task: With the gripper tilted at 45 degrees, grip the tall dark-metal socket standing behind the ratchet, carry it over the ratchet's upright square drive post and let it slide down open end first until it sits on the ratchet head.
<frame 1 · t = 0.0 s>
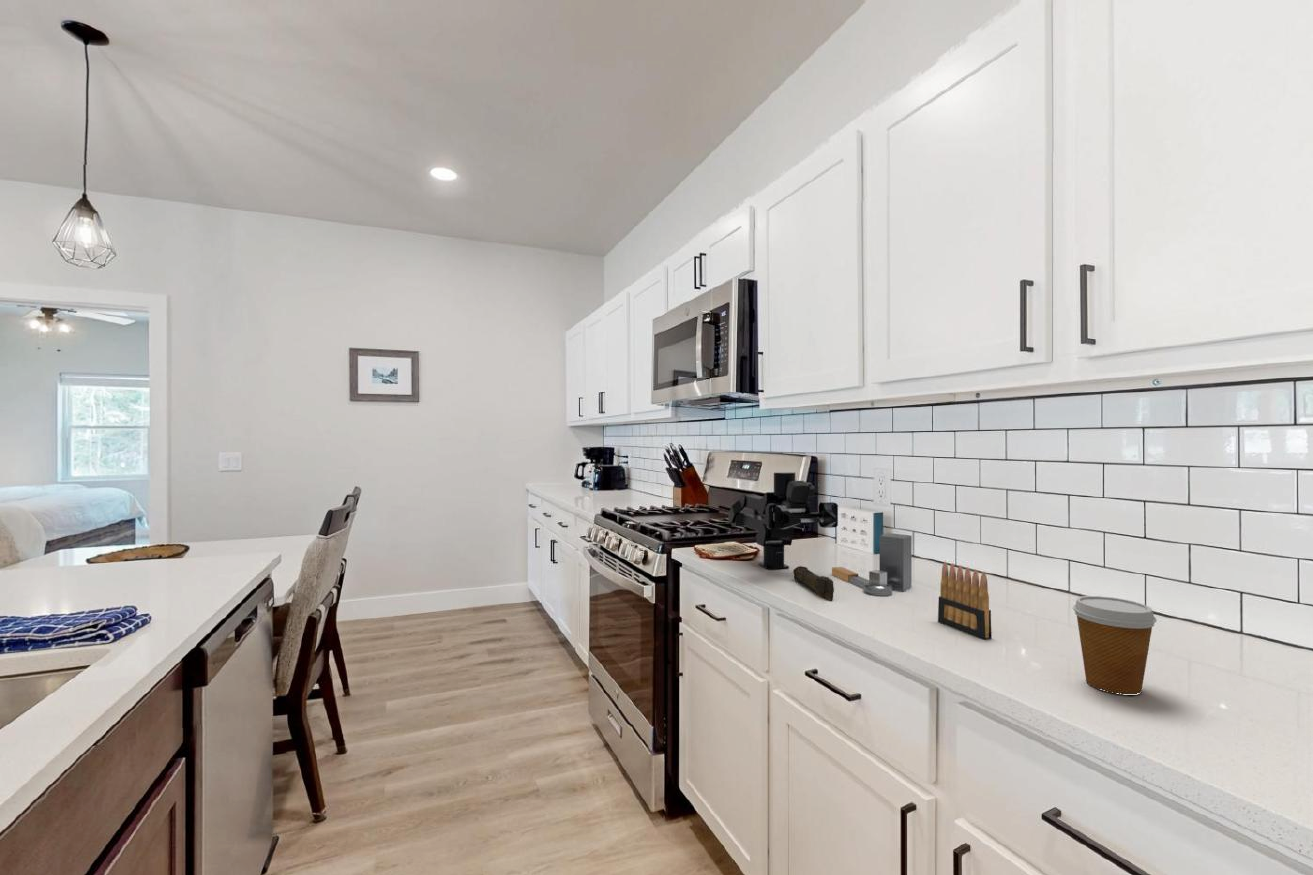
hand: (818, 520, 137), 17 cm above the worktop, tool horizontal, fingers open, 9 cm apart
hand tool: (817, 591, 137), on the worktop
ratchet: (857, 584, 142), on the worktop
disposable coffee cup: (1113, 688, 84), on the worktop
socket: (895, 587, 139), on the worktop
ammunition clip: (963, 631, 108), on the worktop
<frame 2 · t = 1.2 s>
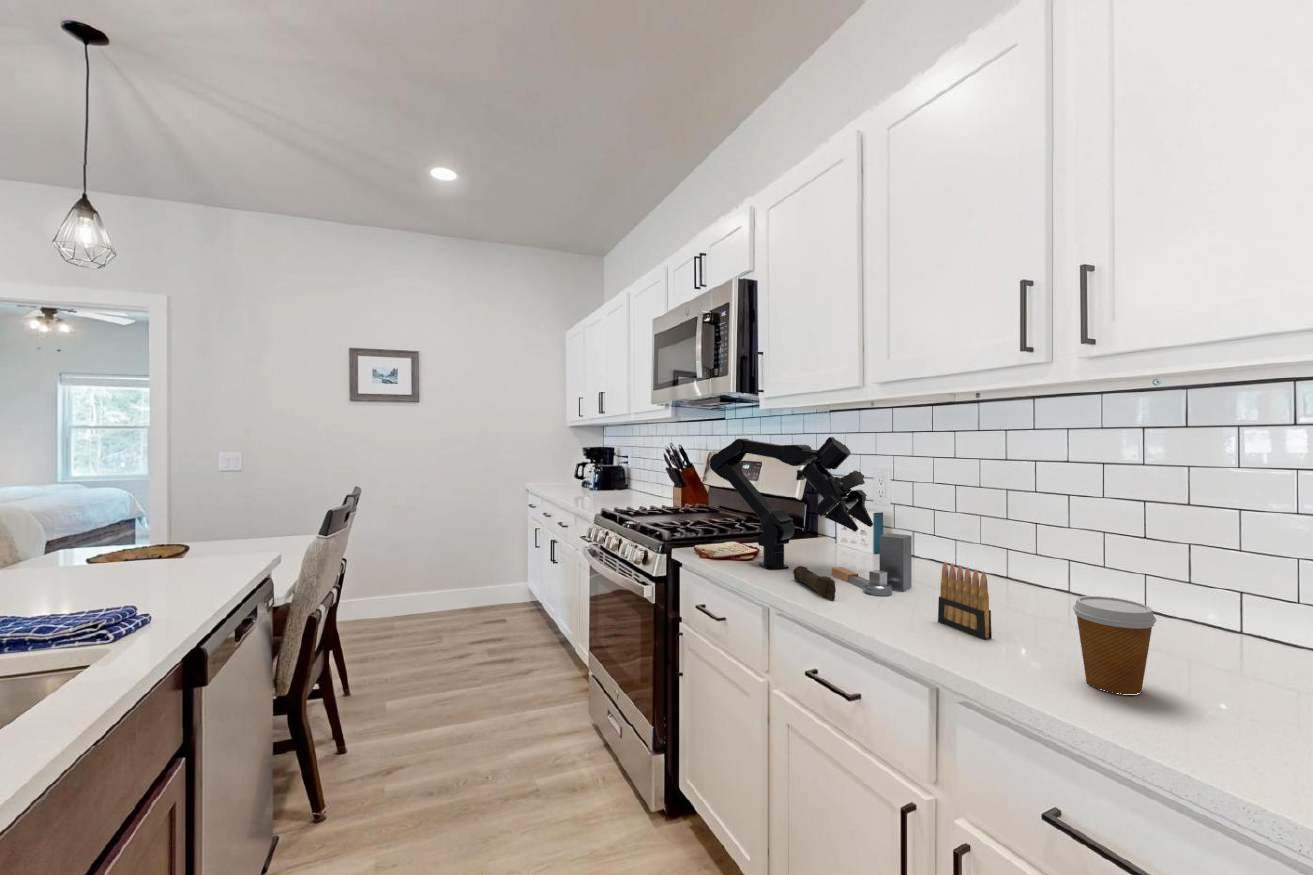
hand: (864, 528, 144), 14 cm above the worktop, tool tilted 45°, fingers open, 9 cm apart
nothing on the worktop moved.
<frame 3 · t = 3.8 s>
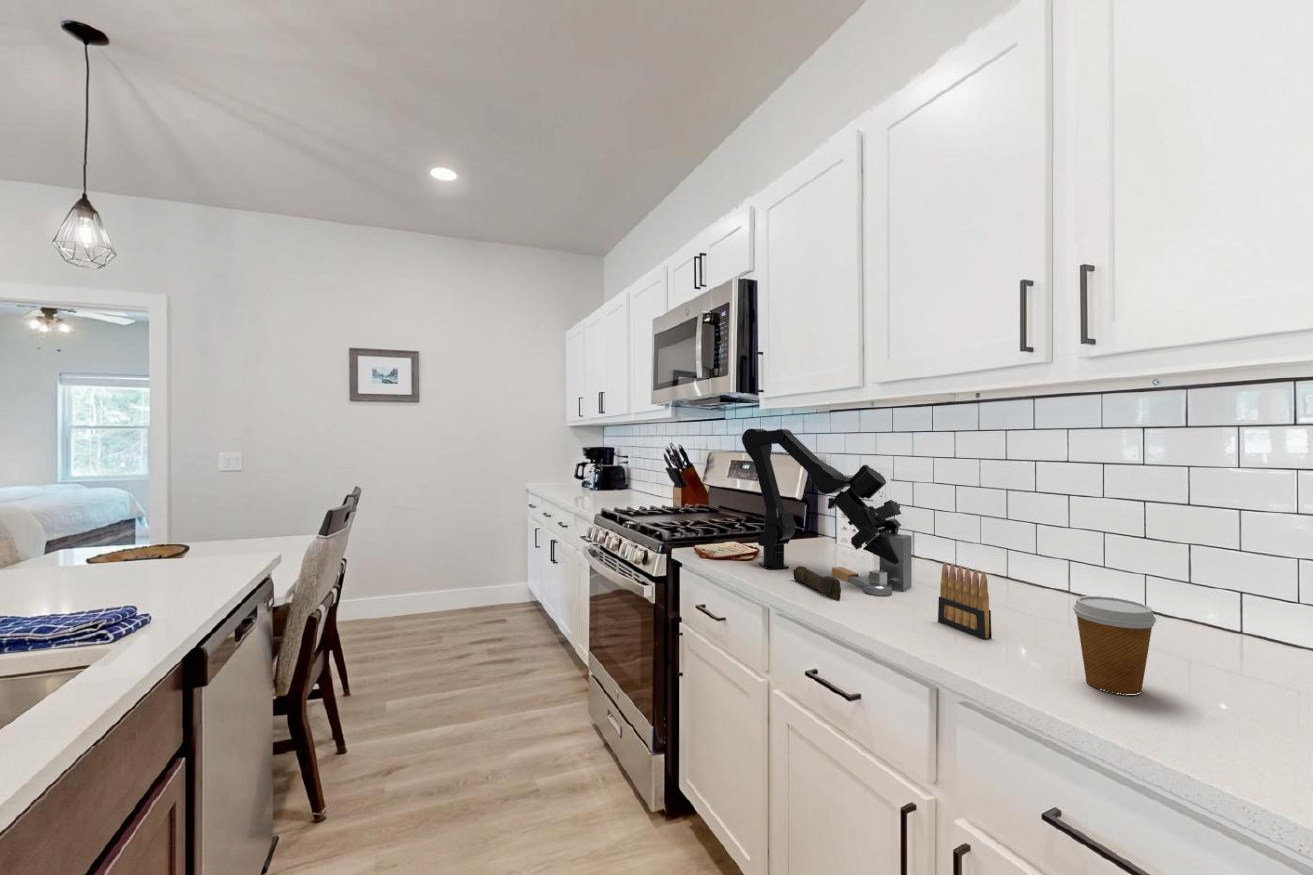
hand: (901, 561, 138), 7 cm above the worktop, tool tilted 45°, fingers closed on socket, 6 cm apart
socket: (895, 587, 139), on the worktop, touching gripper
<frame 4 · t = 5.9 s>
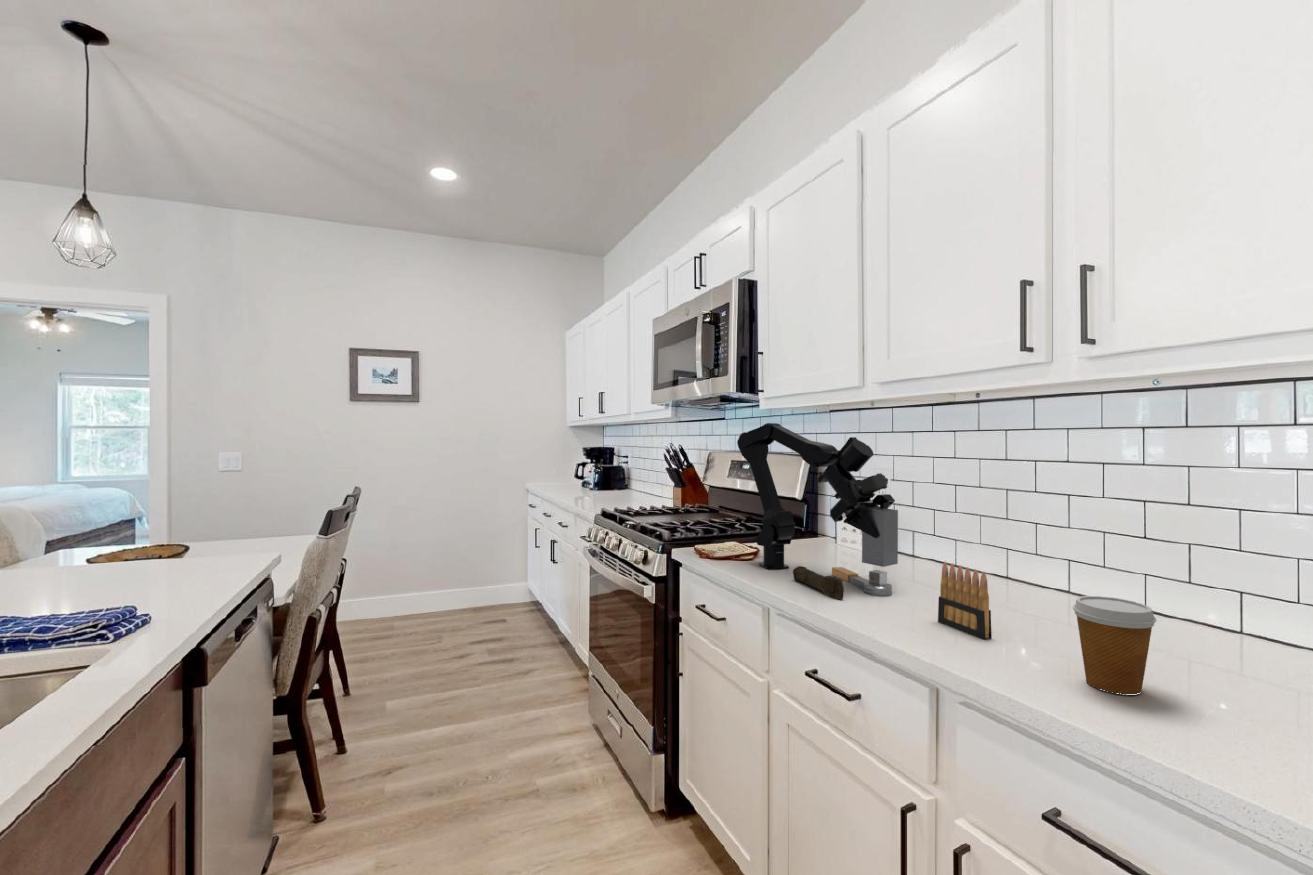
hand: (885, 535, 133), 13 cm above the worktop, tool tilted 45°, fingers closed on socket, 6 cm apart
socket: (879, 563, 135), point 7 cm above the worktop, touching gripper
when the fingers open (9 cm above the worktop, at t = 8.0 s): socket stays where it is, resting on ratchet.
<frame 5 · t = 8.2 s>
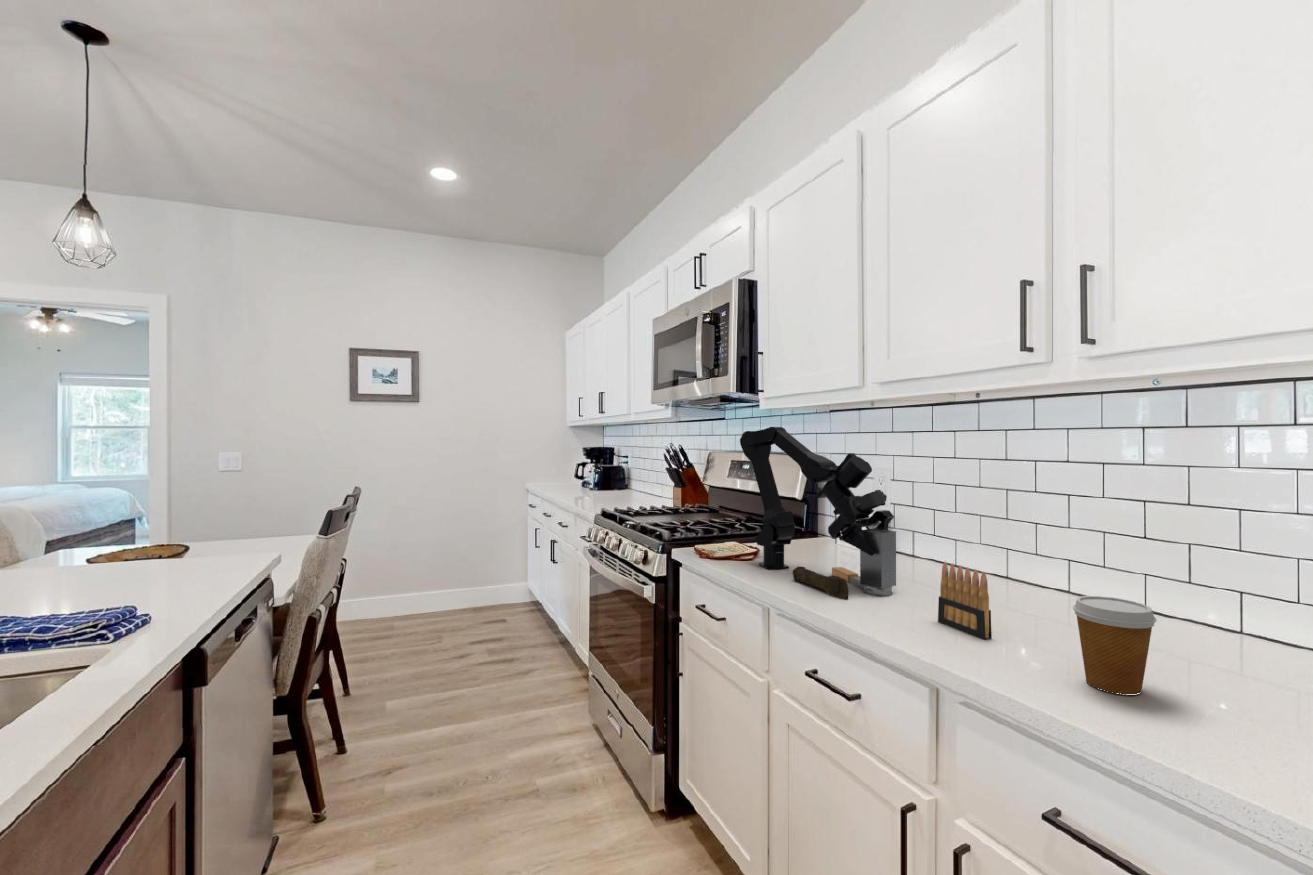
hand: (883, 552, 133), 10 cm above the worktop, tool tilted 45°, fingers open, 7 cm apart
ratchet: (857, 584, 142), on the worktop, touching socket
socket: (878, 584, 134), point 2 cm above the worktop, touching ratchet
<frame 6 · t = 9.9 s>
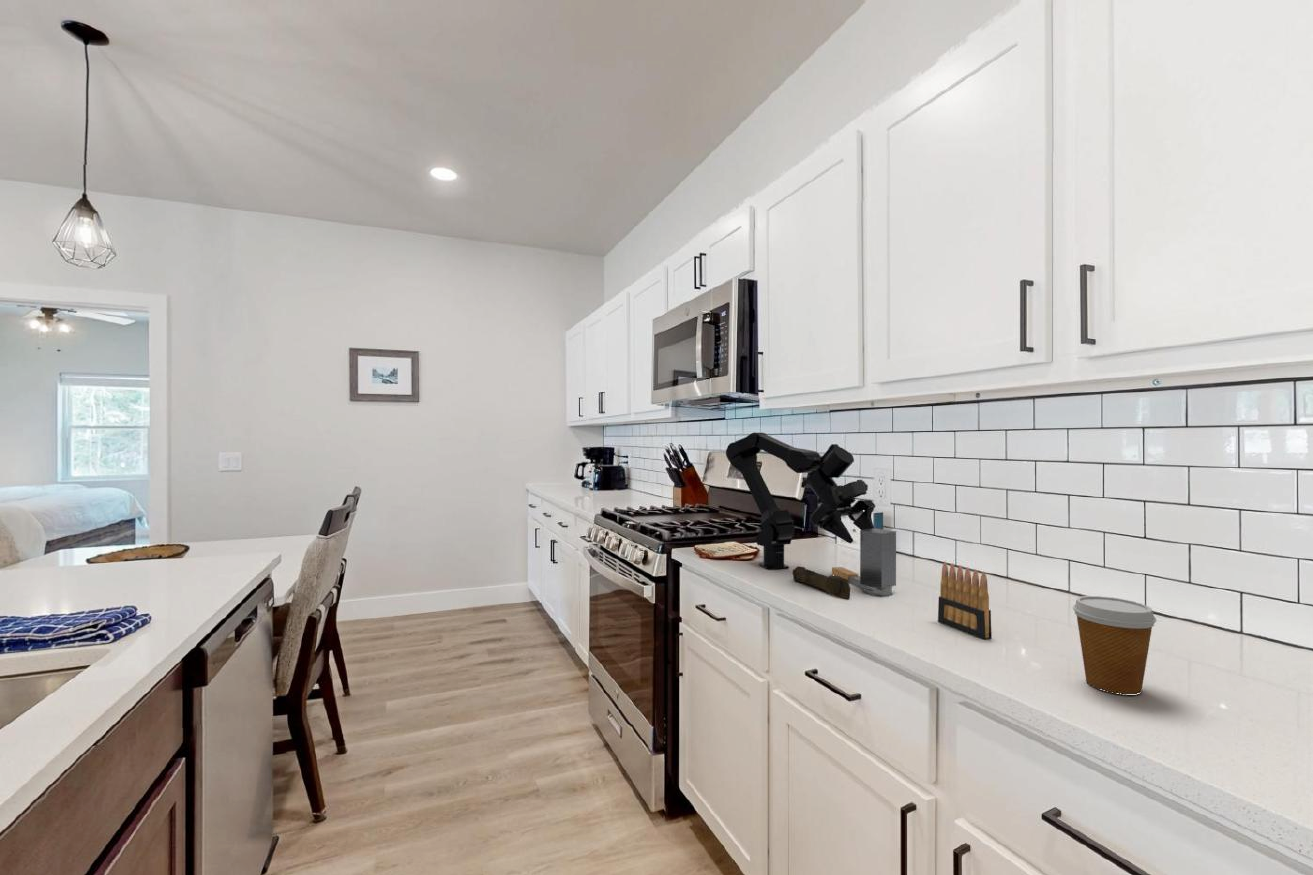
hand: (864, 540, 137), 12 cm above the worktop, tool tilted 45°, fingers open, 9 cm apart
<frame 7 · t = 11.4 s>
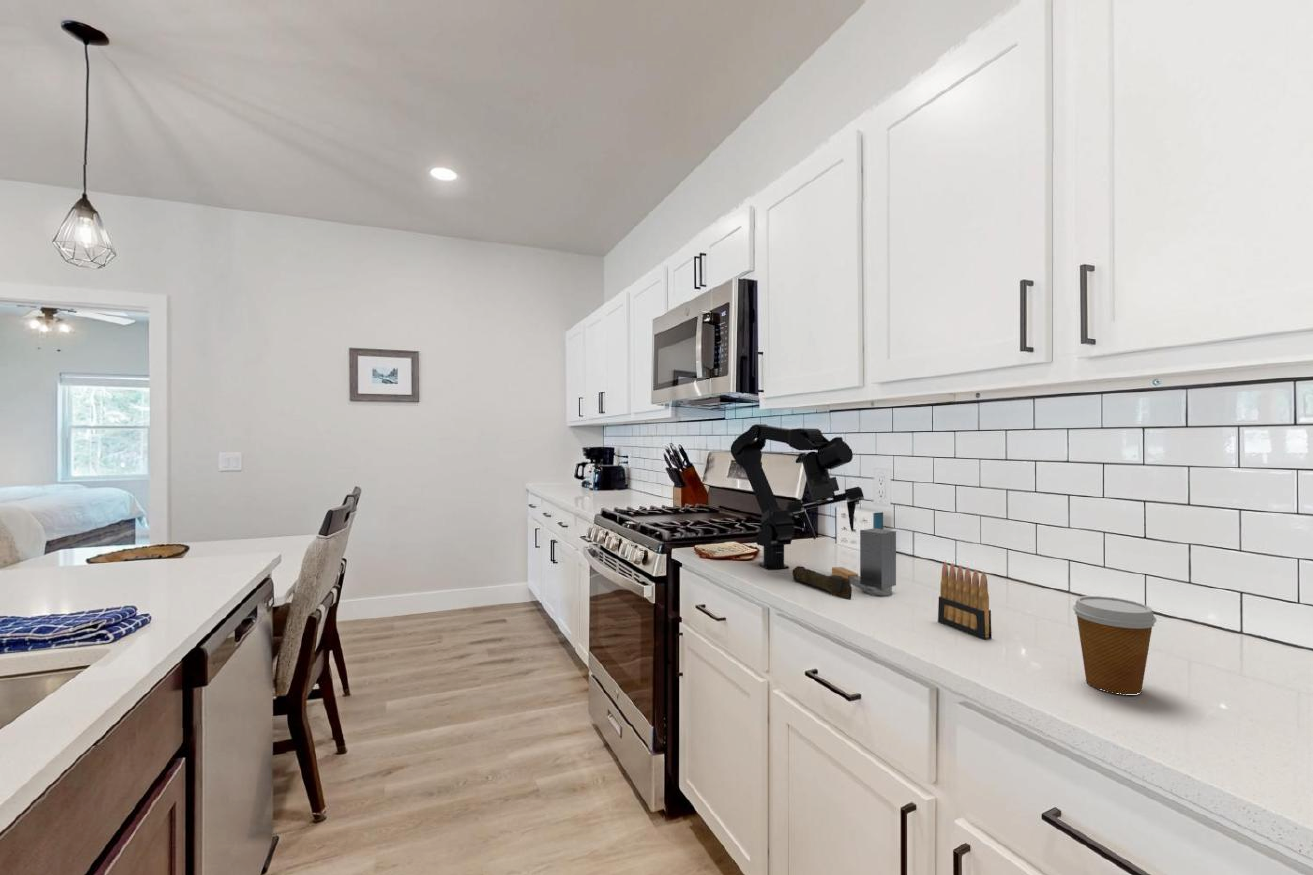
hand: (833, 535, 143), 12 cm above the worktop, tool tilted 20°, fingers open, 9 cm apart
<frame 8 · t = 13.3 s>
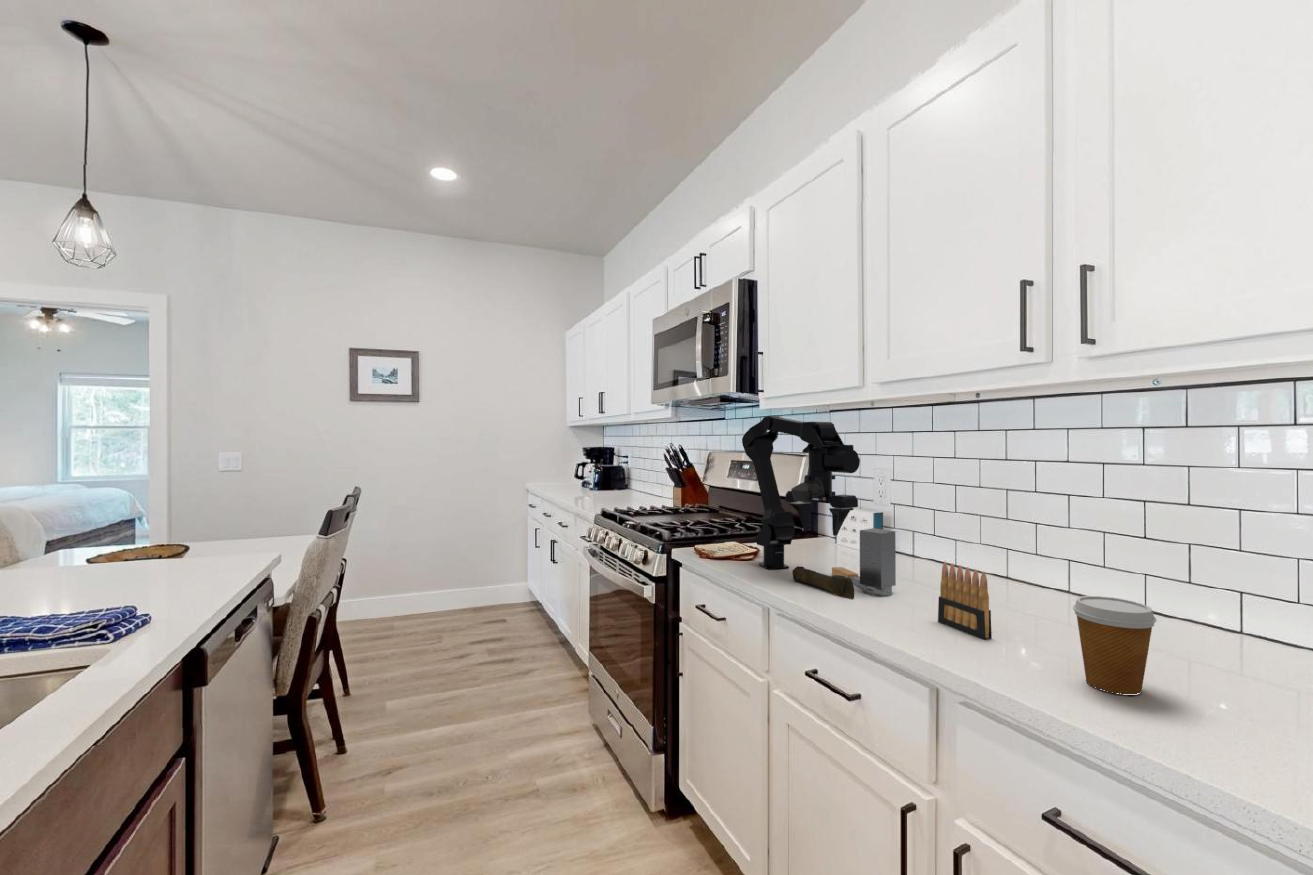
hand: (820, 533, 146), 12 cm above the worktop, tool pointing down, fingers open, 9 cm apart
at the end: socket 0.1 cm from the target spot on the ratchet, point 2.0 cm above the ratchet's base; socket tilted 0°; the gripper is holding nothing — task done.
